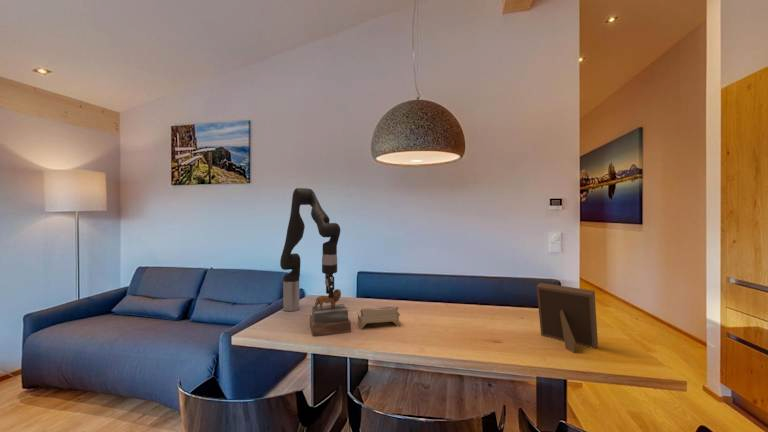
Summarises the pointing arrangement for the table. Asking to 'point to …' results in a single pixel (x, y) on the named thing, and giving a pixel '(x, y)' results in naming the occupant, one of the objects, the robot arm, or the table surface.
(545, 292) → the photo frame
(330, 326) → the wooden box
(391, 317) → the toy sofa
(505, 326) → the table surface
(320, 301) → the lion figurine
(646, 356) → the table surface
